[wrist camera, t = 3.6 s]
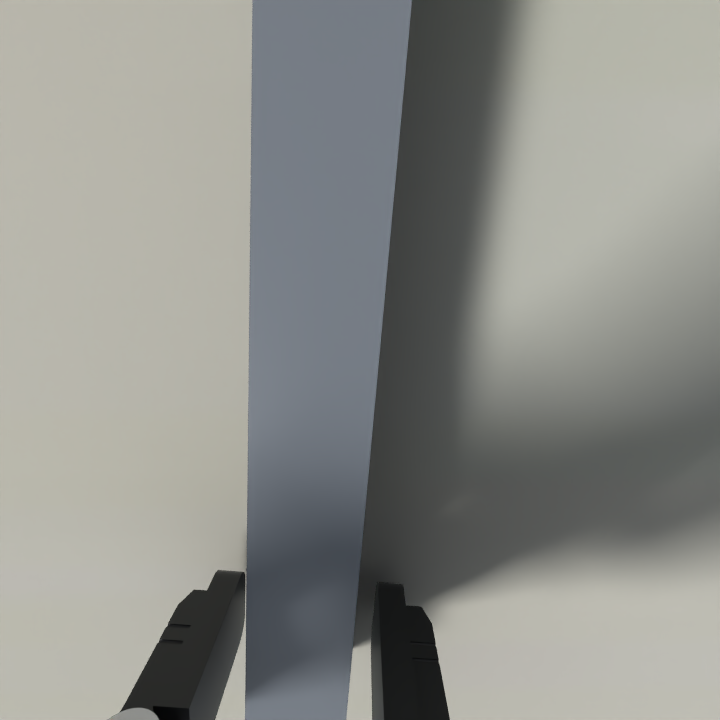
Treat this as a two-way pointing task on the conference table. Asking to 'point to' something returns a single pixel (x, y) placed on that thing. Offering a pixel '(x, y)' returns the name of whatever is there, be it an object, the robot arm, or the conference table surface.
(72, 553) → the conference table surface
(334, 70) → the scraper
